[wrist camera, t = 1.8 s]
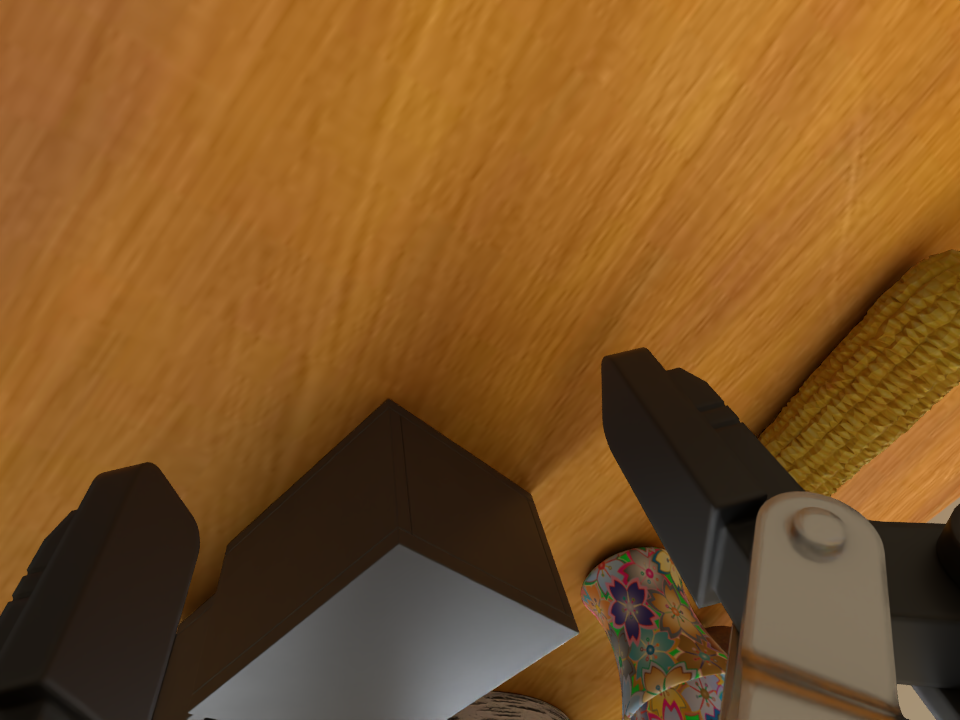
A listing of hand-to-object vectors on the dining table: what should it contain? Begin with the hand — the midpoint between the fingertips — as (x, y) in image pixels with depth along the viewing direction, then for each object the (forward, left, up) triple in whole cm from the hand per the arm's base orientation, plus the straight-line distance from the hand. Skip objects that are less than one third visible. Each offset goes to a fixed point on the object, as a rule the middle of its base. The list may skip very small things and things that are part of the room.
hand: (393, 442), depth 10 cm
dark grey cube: (+8, -19, -16) cm, 27 cm away
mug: (+30, -20, -16) cm, 40 cm away
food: (+30, 0, -16) cm, 35 cm away
